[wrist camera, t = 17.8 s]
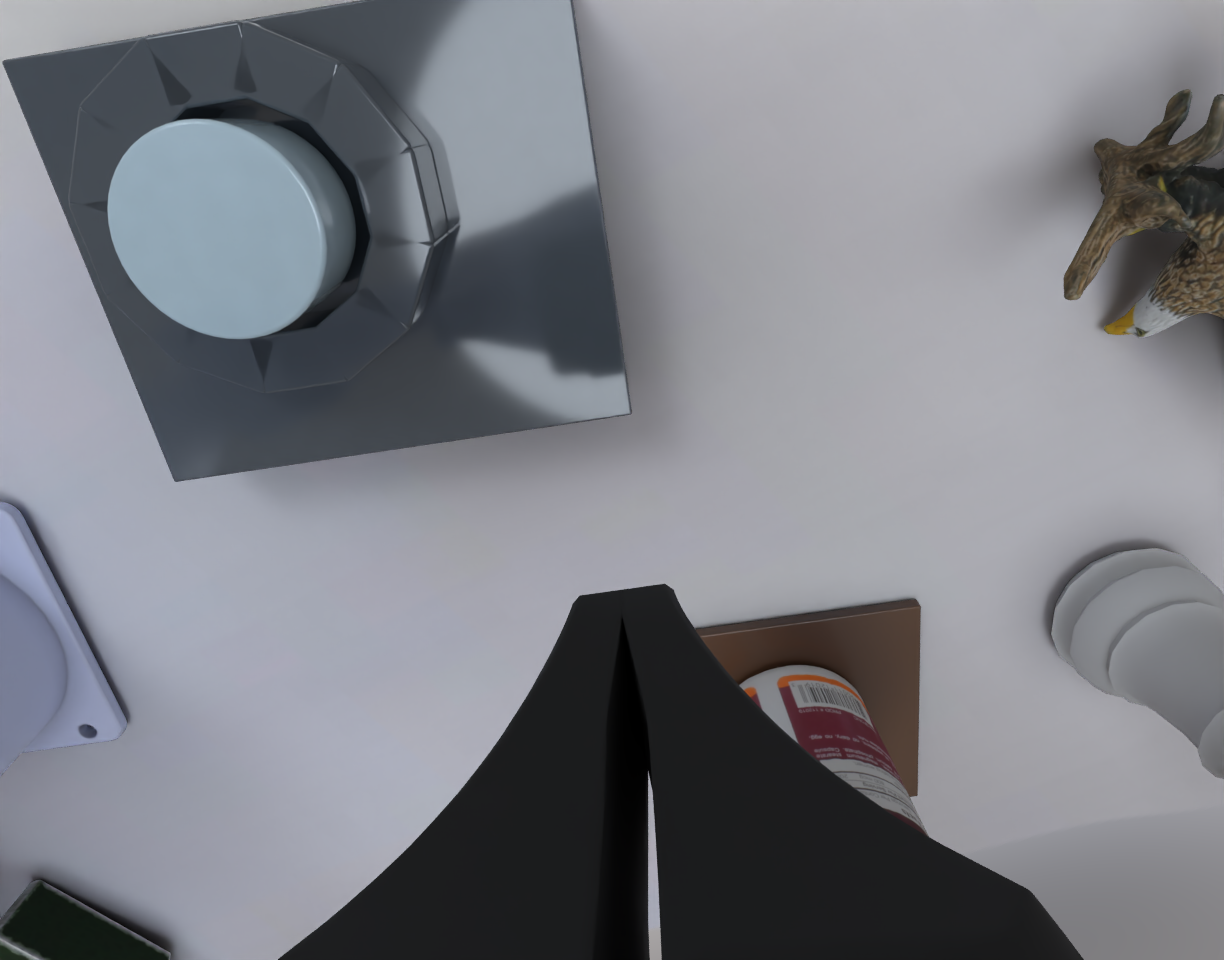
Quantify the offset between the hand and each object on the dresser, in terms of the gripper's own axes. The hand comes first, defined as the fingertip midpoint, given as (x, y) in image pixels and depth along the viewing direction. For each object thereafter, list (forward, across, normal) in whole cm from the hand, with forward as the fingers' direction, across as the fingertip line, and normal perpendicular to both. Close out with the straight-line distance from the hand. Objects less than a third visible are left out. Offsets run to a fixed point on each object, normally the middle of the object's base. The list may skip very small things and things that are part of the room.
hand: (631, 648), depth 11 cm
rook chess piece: (+11, -14, +8) cm, 20 cm away
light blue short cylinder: (+7, +6, -6) cm, 11 cm away
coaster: (+10, -4, +11) cm, 16 cm away
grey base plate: (+10, +5, -5) cm, 13 cm away
